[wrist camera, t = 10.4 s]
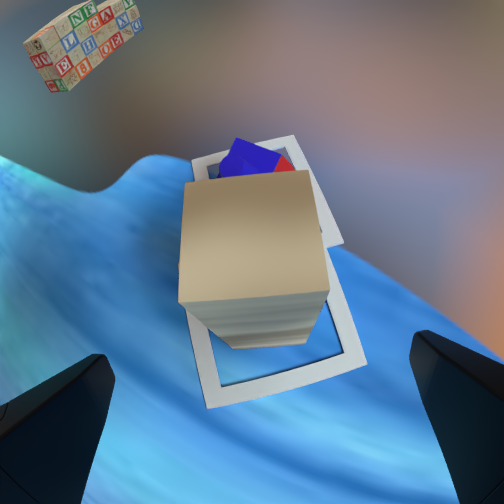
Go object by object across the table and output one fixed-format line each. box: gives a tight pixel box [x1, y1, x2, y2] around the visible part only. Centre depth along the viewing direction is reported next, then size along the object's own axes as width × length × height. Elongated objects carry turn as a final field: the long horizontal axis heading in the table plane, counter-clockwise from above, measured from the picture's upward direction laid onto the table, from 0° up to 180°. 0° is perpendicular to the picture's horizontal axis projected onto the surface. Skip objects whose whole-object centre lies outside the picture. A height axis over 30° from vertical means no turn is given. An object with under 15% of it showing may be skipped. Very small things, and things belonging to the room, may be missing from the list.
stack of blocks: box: [23, 0, 143, 93], centre depth 36 cm, size 21×6×12 cm, turn 157°
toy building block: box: [216, 138, 296, 179], centre depth 21 cm, size 4×4×8 cm
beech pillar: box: [178, 170, 330, 350], centre depth 15 cm, size 4×4×11 cm
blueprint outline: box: [178, 135, 367, 409], centre depth 22 cm, size 20×12×1 cm, turn 14°
